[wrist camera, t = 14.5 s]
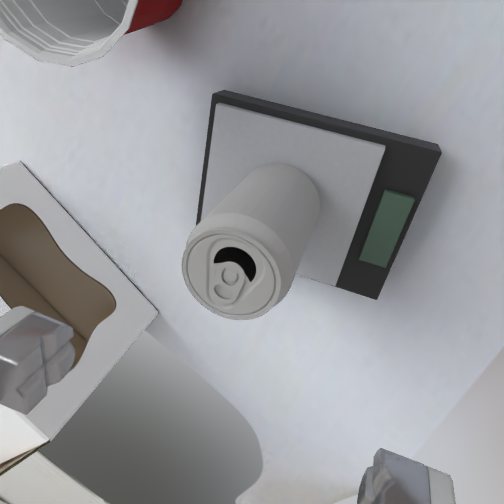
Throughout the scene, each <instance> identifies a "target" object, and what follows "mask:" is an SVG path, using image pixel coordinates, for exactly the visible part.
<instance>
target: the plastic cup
mask: <svg viewBox="0 0 504 504" xmlns="http://www.w3.org/2000/svg"><path fill="white" fill-rule="evenodd" d="M181 3H182V0H0V34H1V35H2V37H3V38H4V39H5V40H7V41H8V42H10V43H11V44H13V45H14V46H16V47H18V48H19V49H21V50H22V51H24V52H25V53H27V54H28V55H30V56H32V57H33V58H35V59H36V60H38V61H43V62H48V63H54V64H59V65H65V66H70V67H73V66H76V65H79V64H82V63H85V62H88V61H91V60H94V59H97V58H101V57H103V56H104V55H105V54H106V53H107V52H108V51H109V50H110V49H111V48H112V47H113V45H114V44H115V43H116V42H117V41H118V40H119V39H120V38H121V37H122V36H123V35H125V34H127V33H130V32H133V31H136V30H139V29H142V28H145V27H147V26H150V25H153V24H154V23H157V22H160V21H162V20H165V19H168V18H169V17H170V16H171V15H172V14H173V13H174V12H175V11H176V10H177V9H178V8H179V7H180V5H181Z"/></svg>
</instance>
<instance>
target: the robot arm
mask: <svg viewBox="0 0 504 504" xmlns="http://www.w3.org/2000/svg"><path fill="white" fill-rule="evenodd" d="M72 337H74V335H73V328H72V327H71V326H69V325H67V324H64V323H62V322H60V321H57V320H55V319H53V318H50V317H48V316H46V315H43V314H41V313H39V312H36V311H34V310H31V309H29V308H26V307H24V306H18V307H14V308H13V309H11V310H10V311H8V312H7V313H5V314H4V315H3V316H1V317H0V404H1V405H3V406H6V407H8V408H11V409H13V410H15V411H18V412H20V413H23V414H25V415H27V414H28V413H29V412H30V411H31V410H32V409H33V408H34V407H35V406H36V405H37V404H38V403H39V402H40V401H41V400H42V399H43V398H44V397H45V396H46V395H47V390H48V386H50V385H53V384H56V383H58V382H60V381H61V380H62V379H63V378H64V377H65V376H66V375H67V373H68V372H69V370H70V368H71V366H72V365H73V362H74V358H75V348H74V347H73V345H72V344H71V342H70V341H69V340H70V339H71V338H72ZM357 504H456V503H455V495H454V487H453V481H452V479H451V477H450V475H448V474H446V473H443V472H441V471H438V470H436V469H433V468H431V467H428V466H425V465H424V464H422V463H419V462H417V461H414V460H411V459H409V458H406V457H403V456H401V455H398V454H396V453H393V452H390V451H388V450H385V449H382V448H380V449H379V450H378V451H377V452H376V454H375V456H374V462H373V466H372V467H368V468H367V470H366V471H365V473H364V475H363V478H362V481H361V484H360V487H359V493H358V500H357Z"/></svg>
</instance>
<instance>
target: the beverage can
mask: <svg viewBox="0 0 504 504" xmlns="http://www.w3.org/2000/svg"><path fill="white" fill-rule="evenodd" d="M319 210H320V201H319V195H318V192H317V190H316V188H315V186H314V184H313V183H312V181H311V180H310V179H309V178H308V176H306V175H305V174H304V173H303V172H302V171H300V170H299V169H297V168H295V167H292V166H290V165H286V164H281V163H272V164H266V165H263V166H261V167H259V168H257V169H255V170H254V171H252V172H251V173H250V174H249V175H248V176H247V177H246V178H245V179H244V180H243V181H242V182H241V183H240V184H239V185H238V186H237V187H236V188H235V189H233V190H232V191H231V192H230V193H229V194H228V195H227V196H226V197H225V198H224V199H223V200H222V201H221V202H220V203H219V204H218V205H217V206H216V207H215V208H214V209H213V210H212V211H211V212H210V213H209V214H208V215H207V216H206V217H205V218H204V219H203V220H202V221H201V222H200V223H199V224H198V225H197V226H196V227H195V228H194V229H193V231H192V232H191V234H190V236H189V238H188V240H187V244H186V249H185V251H184V254H183V258H182V273H183V277H184V280H185V283H186V285H187V287H188V289H189V291H190V292H191V294H192V295H193V296H194V297H195V299H196V300H197V301H198V302H199V303H200V304H201V305H203V306H204V307H205V308H207V309H208V310H210V311H211V312H213V313H215V314H217V315H219V316H222V317H225V318H228V319H234V320H249V319H254V318H257V317H259V316H262V315H263V314H265V313H267V312H268V311H269V310H270V309H271V308H272V307H273V306H275V305H276V304H278V303H279V302H280V301H281V300H282V299H283V298H284V297H285V296H286V294H287V293H288V291H289V289H290V287H291V284H292V282H293V279H294V276H295V274H296V271H297V269H298V266H299V264H300V261H301V259H302V256H303V254H304V251H305V249H306V246H307V244H308V241H309V239H310V236H311V234H312V231H313V229H314V226H315V224H316V221H317V218H318V215H319Z"/></svg>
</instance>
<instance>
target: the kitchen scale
mask: <svg viewBox="0 0 504 504" xmlns="http://www.w3.org/2000/svg"><path fill="white" fill-rule="evenodd" d="M440 155H441V150H440V148H439V146H438V144H435V143H431V142H427V141H423V140H419V139H415V138H411V137H407V136H403V135H399V134H395V133H391V132H387V131H383V130H380V129H376V128H372V127H368V126H364V125H360V124H356V123H352V122H348V121H344V120H340V119H336V118H332V117H328V116H324V115H320V114H317V113H313V112H309V111H305V110H301V109H297V108H293V107H289V106H285V105H281V104H277V103H273V102H269V101H265V100H261V99H257V98H253V97H250V96H246V95H242V94H238V93H234V92H230V91H226V90H223V91H220V92H216V93H213V94H212V101H211V109H210V117H209V125H208V133H207V141H206V149H205V157H204V165H203V173H202V181H201V189H200V197H199V205H198V213H197V221H196V226H197V225H198V224H199V223H200V222H201V221H202V220H203V219H204V218H205V217H206V216H207V215H208V214H209V213H210V212H211V211H212V210H213V209H214V208H215V207H216V206H217V205H218V204H219V203H220V202H221V201H222V200H223V199H224V198H225V197H226V196H227V195H228V194H229V193H230V192H231V191H232V190H233V189H235V188H236V187H237V186H238V185H239V184H240V183H241V182H242V181H243V180H244V179H245V178H246V177H247V176H248V175H249V174H250V173H251V172H252V171H254V170H255V169H257V168H259V167H261V166H263V165H266V164H272V163H281V164H286V165H290V166H292V167H295V168H297V169H299V170H300V171H302V172H303V173H304V174H305V175H306V176H308V178H309V179H310V180H311V181H312V183H313V184H314V186H315V188H316V190H317V192H318V195H319V201H320V210H319V215H318V218H317V221H316V224H315V226H314V229H313V231H312V234H311V236H310V239H309V241H308V244H307V246H306V249H305V251H304V254H303V256H302V259H301V261H300V264H299V266H298V269H297V271H296V274H298V275H301V276H304V277H307V278H310V279H313V280H316V281H319V282H322V283H325V284H329V285H332V286H335V287H338V288H342V289H345V290H348V291H351V292H354V293H357V294H360V295H363V296H366V297H369V298H372V299H376V300H377V298H378V296H379V294H380V292H381V289H382V287H383V285H384V283H385V280H386V278H387V276H388V273H389V271H390V269H391V267H392V264H393V262H394V260H395V258H396V255H397V253H398V251H399V249H400V246H401V244H402V242H403V239H404V237H405V235H406V233H407V230H408V228H409V226H410V224H411V221H412V219H413V217H414V214H415V212H416V210H417V208H418V205H419V203H420V201H421V199H422V196H423V194H424V192H425V190H426V187H427V185H428V183H429V180H430V178H431V176H432V174H433V171H434V169H435V167H436V165H437V162H438V160H439V158H440Z"/></svg>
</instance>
